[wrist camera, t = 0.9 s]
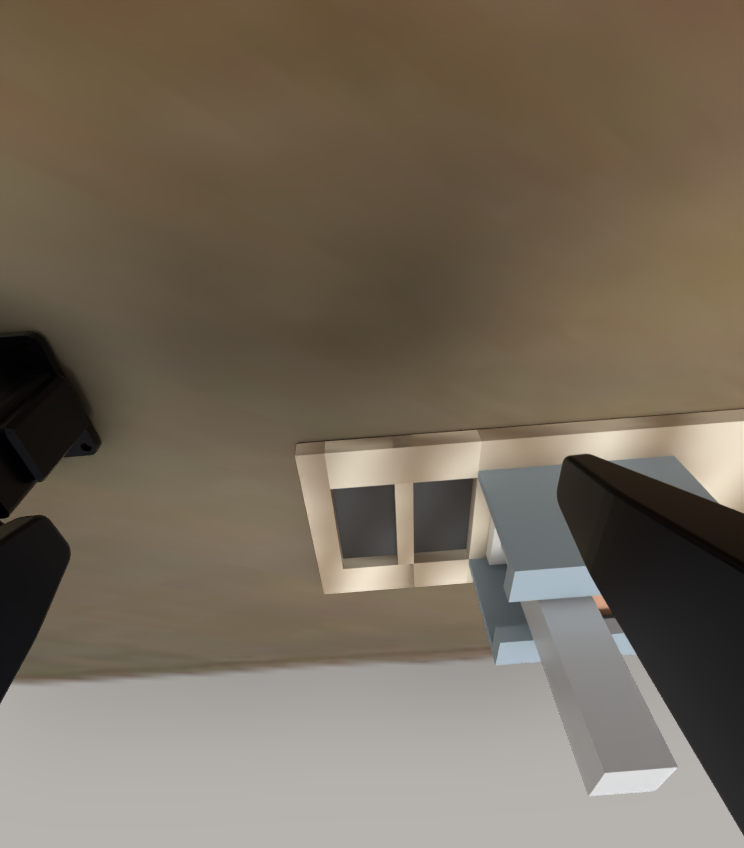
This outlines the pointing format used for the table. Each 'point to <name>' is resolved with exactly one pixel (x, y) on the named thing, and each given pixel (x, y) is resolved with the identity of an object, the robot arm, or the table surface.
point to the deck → (474, 488)
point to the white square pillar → (594, 693)
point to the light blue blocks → (543, 551)
